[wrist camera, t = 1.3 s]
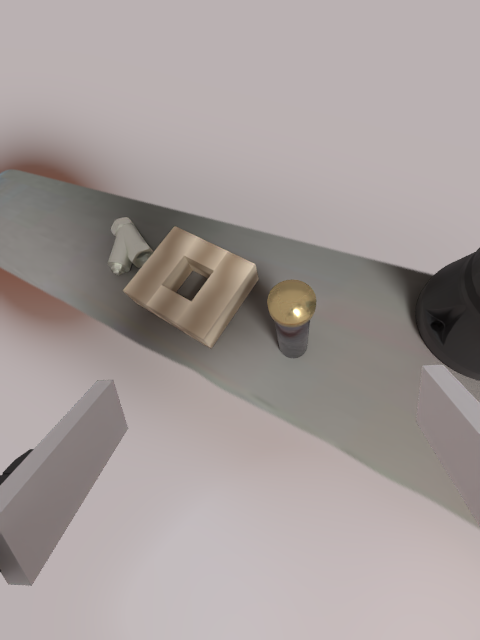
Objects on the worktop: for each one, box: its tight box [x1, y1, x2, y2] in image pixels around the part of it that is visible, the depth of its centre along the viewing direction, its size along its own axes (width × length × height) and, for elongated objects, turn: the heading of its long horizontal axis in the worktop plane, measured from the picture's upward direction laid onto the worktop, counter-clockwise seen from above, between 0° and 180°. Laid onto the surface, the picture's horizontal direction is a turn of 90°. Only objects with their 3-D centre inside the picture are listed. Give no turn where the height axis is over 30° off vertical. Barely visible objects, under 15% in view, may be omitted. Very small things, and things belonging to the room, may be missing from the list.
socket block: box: [123, 226, 259, 349], centre depth 44 cm, size 14×12×4 cm
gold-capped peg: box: [267, 280, 316, 358], centre depth 35 cm, size 4×4×13 cm
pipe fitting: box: [108, 217, 153, 275], centre depth 49 cm, size 8×4×7 cm
